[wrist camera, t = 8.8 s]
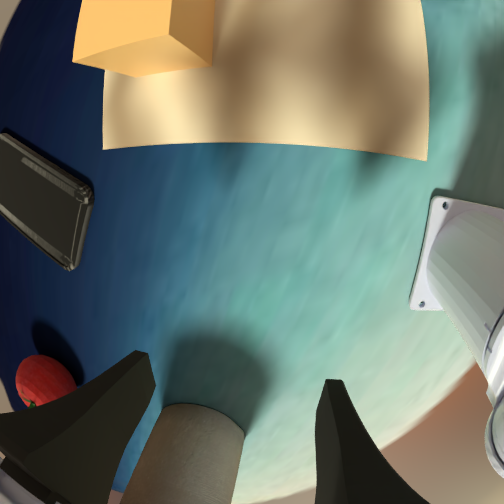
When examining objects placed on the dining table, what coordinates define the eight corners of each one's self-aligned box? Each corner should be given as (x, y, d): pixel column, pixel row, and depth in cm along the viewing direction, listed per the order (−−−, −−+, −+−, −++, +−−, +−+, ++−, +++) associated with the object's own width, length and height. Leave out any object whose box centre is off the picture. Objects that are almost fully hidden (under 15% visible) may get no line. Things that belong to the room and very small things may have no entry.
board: (409, -27, 10) (430, -56, 5) (420, 159, 15) (455, 168, 11) (126, -20, 12) (93, -42, 8) (111, 148, 17) (68, 154, 13)
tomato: (32, 331, 27) (-7, 368, 20) (86, 366, 27) (48, 413, 19) (43, 373, 30) (13, 408, 23) (91, 405, 30) (63, 446, 23)
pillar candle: (160, 433, 29) (118, 530, 16) (161, 389, 25) (100, 515, 12) (236, 456, 29) (211, 559, 15) (256, 418, 25) (228, 556, 11)
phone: (73, 275, 21) (-14, 201, 20) (80, 270, 22) (-6, 198, 21) (91, 191, 18) (-4, 130, 17) (100, 188, 19) (4, 128, 18)
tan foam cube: (215, -3, 12) (179, -52, 6) (212, 66, 14) (168, 34, 8) (141, 12, 13) (87, -20, 7) (135, 77, 14) (72, 61, 9)
